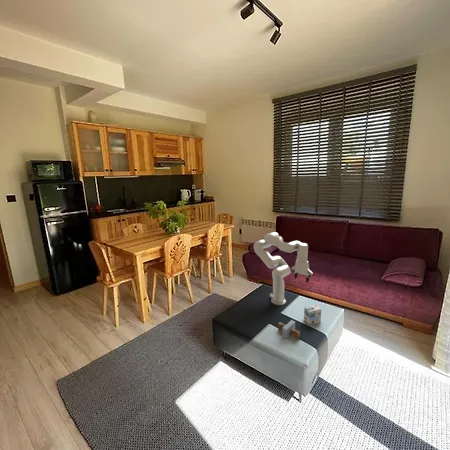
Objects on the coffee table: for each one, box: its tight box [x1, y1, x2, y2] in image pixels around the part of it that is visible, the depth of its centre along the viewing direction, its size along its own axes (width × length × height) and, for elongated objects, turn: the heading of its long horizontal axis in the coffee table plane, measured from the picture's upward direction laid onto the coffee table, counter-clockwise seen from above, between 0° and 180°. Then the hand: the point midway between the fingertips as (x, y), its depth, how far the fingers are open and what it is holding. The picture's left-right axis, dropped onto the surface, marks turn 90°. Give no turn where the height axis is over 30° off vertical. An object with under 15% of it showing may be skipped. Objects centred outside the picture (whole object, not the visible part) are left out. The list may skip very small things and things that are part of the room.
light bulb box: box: [303, 304, 322, 325], centre depth 179 cm, size 11×7×11 cm, turn 106°
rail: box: [277, 321, 301, 341], centre depth 167 cm, size 16×2×5 cm, turn 44°
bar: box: [281, 319, 296, 339], centre depth 167 cm, size 3×12×7 cm, turn 134°
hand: (301, 279), depth 186 cm, fingers open, 9 cm apart
